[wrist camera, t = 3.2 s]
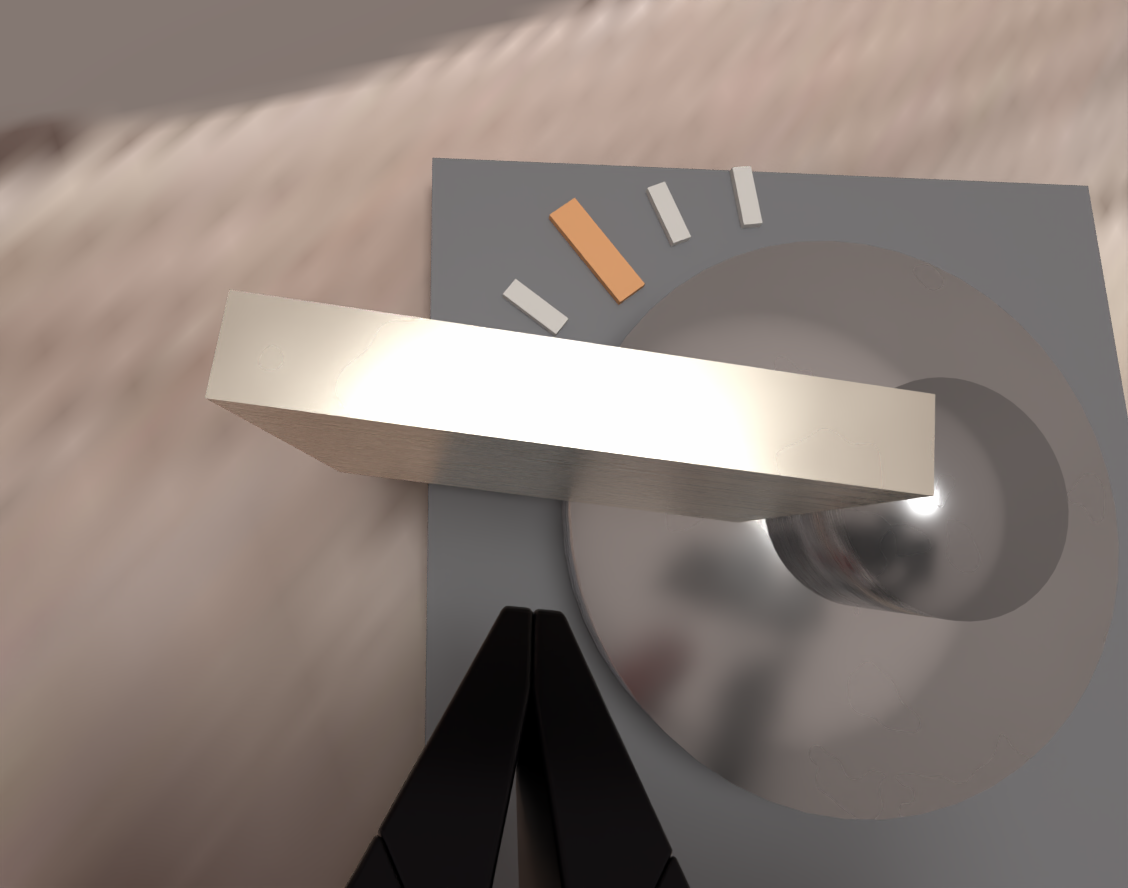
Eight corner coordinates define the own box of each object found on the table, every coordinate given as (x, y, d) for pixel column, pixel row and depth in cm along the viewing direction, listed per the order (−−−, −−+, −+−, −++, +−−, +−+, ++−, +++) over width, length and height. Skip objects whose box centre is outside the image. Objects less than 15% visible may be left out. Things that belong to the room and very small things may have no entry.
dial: (1044, 313, 17) (1498, 113, 9) (1053, 810, 15) (1656, 1082, 7) (406, 210, 16) (323, -126, 8) (313, 741, 13) (71, 989, 6)
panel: (1158, 872, 16) (1219, 901, 15) (407, 936, 14) (397, 976, 13) (1051, 207, 19) (1094, 180, 18) (419, 183, 17) (413, 151, 16)
